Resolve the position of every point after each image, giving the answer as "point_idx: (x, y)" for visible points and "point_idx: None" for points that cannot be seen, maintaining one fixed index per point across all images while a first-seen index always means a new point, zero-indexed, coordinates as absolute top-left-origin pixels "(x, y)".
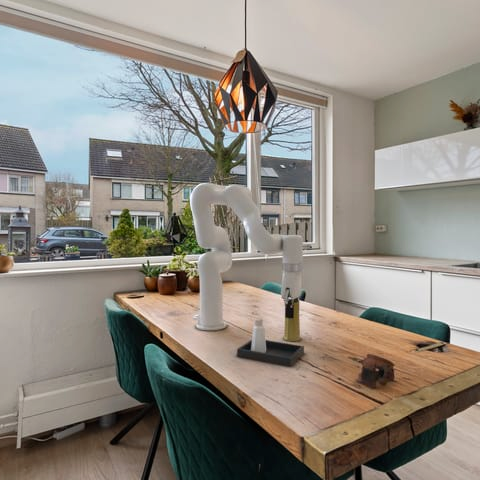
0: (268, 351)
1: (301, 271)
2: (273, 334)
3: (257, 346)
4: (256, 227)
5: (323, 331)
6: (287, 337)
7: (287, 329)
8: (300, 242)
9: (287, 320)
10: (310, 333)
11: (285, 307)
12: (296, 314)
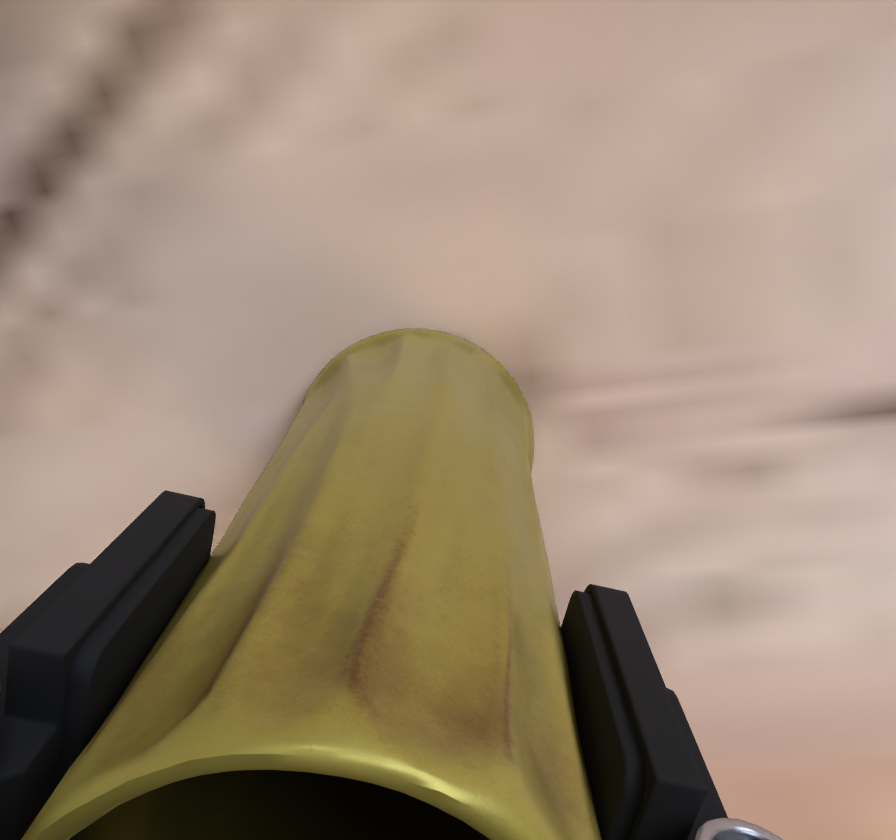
0: None
1: None
2: (577, 124)
3: None
4: None
5: (838, 796)
6: (305, 403)
7: (286, 440)
8: None
9: (254, 502)
10: (723, 653)
11: (25, 645)
12: (240, 783)
